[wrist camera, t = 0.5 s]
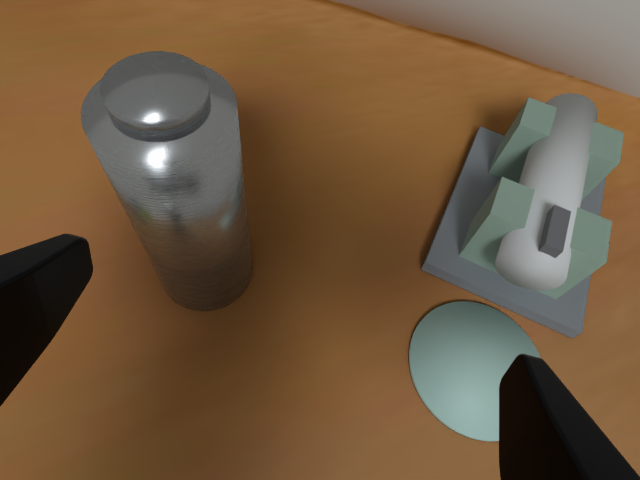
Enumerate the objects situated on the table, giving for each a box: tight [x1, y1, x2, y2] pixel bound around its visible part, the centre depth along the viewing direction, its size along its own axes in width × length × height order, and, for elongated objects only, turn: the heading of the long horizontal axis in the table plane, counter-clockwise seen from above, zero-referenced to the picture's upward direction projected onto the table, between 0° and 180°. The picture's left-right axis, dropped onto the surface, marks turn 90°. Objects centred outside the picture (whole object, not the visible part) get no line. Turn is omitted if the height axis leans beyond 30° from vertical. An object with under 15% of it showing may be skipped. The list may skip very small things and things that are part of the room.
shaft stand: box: [421, 93, 624, 338], centre depth 28 cm, size 14×10×7 cm
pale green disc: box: [409, 301, 540, 441], centre depth 25 cm, size 8×8×1 cm
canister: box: [81, 51, 252, 311], centre depth 21 cm, size 6×6×14 cm
